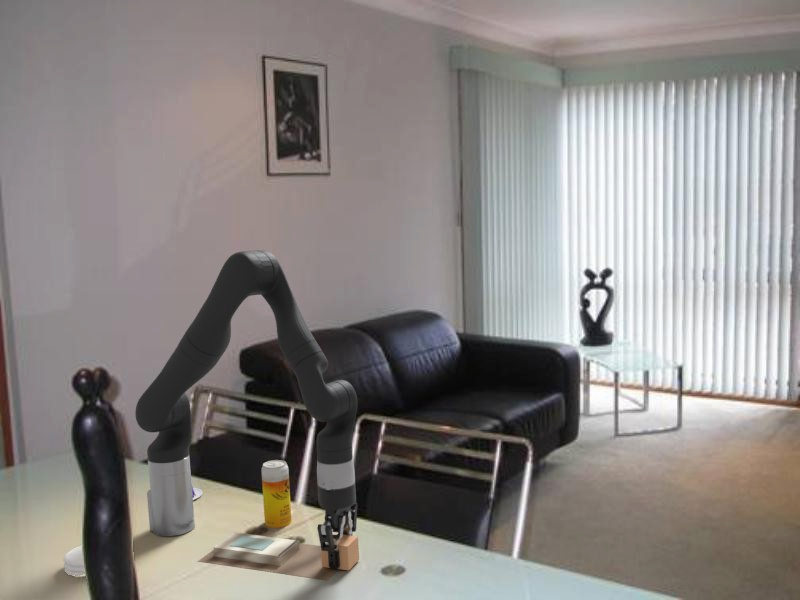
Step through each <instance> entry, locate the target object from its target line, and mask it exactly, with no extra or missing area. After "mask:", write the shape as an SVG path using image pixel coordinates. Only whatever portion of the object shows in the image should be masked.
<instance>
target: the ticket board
mask: <svg viewBox="0 0 800 600" xmlns="http://www.w3.org/2000/svg"><path fill="white" fill-rule="evenodd" d="M212 548H213V549H212V550H211V551H210V552H208V553H207V554H206V555H204V556H203V557H201V558H200V559H199V560H197V562H199V563H207V564H213V565H218V566H219V565H220V566H226V567H233V568H239V569H248V570H253V571H261V572H267V573H275V574H280V575H281V574H282V575H286V576H287V575H289V576H295V577H302V578H308V579H315V580H321V581H329V579H330V578H331V577H332V576H333V575H335V574H336V573H337V571H339V569H334V568H328V567H322V561H321V545H316V544H310V543H309V544H307V543H303V542H302V543H300V541H299V540H297V539H287V538H281V537H273V536H264V535H258V534H257V535H256V534H251V533H249V534H248V533H243V532H233V533H231V534H230V535H229V536H227V537H226V538H224V539H223V540H221V541H220V542H219V543H217V544H216V545H214V546H213V547H212Z"/></svg>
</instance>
